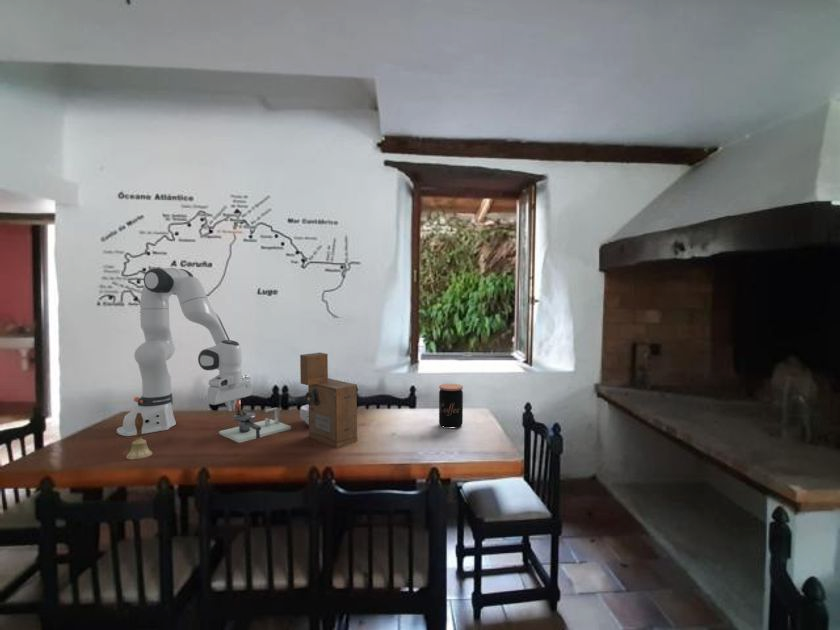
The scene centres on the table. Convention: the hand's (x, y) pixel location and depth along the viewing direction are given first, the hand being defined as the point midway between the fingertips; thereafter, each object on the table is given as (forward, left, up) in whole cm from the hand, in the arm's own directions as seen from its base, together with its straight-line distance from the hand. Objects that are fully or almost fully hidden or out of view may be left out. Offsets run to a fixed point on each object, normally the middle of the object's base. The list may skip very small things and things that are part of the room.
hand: (231, 410), depth 194 cm
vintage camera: (+23, -38, -10) cm, 46 cm away
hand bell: (-35, 0, -10) cm, 37 cm away
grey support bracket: (+16, -6, -8) cm, 19 cm away
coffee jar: (+71, -64, -10) cm, 96 cm away
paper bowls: (+33, -16, -10) cm, 38 cm away
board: (+8, -6, -10) cm, 14 cm away
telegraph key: (+2, -9, -8) cm, 13 cm away
